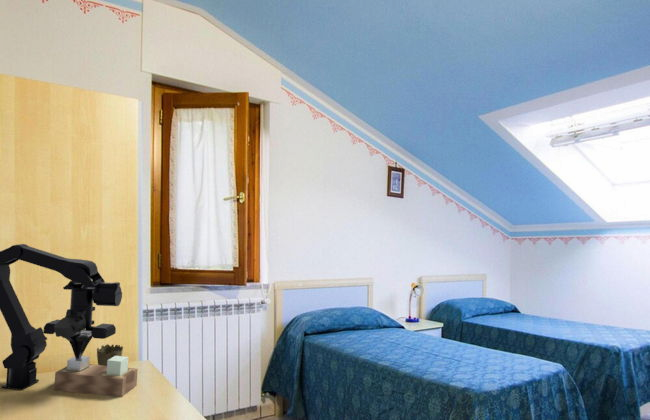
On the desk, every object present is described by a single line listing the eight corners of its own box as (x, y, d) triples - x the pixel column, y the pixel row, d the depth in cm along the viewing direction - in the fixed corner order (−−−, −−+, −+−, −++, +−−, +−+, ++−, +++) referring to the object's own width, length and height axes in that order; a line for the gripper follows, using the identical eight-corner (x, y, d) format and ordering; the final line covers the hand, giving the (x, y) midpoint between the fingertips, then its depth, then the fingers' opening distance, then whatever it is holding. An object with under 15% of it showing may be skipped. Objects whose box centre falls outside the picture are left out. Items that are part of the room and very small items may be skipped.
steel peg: (66, 376, 125) (67, 360, 125) (75, 371, 129) (76, 355, 129) (79, 378, 125) (80, 361, 125) (88, 372, 129) (89, 356, 129)
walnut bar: (54, 390, 123) (55, 372, 123) (72, 379, 131) (73, 362, 131) (121, 396, 122) (122, 378, 122) (136, 385, 130) (137, 368, 130)
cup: (110, 378, 133) (112, 352, 133) (89, 375, 135) (91, 349, 135) (126, 370, 140) (128, 345, 141) (106, 367, 142) (107, 342, 142)
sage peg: (106, 377, 124) (107, 360, 124) (114, 372, 128) (115, 355, 128) (119, 378, 124) (120, 361, 124) (127, 373, 128) (128, 356, 128)
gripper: (30, 308, 120) (27, 365, 120) (95, 313, 118) (91, 371, 118) (58, 300, 131) (55, 352, 131) (118, 305, 129) (114, 357, 129)
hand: (78, 358), depth 127 cm, fingers closed, pressing on steel peg
